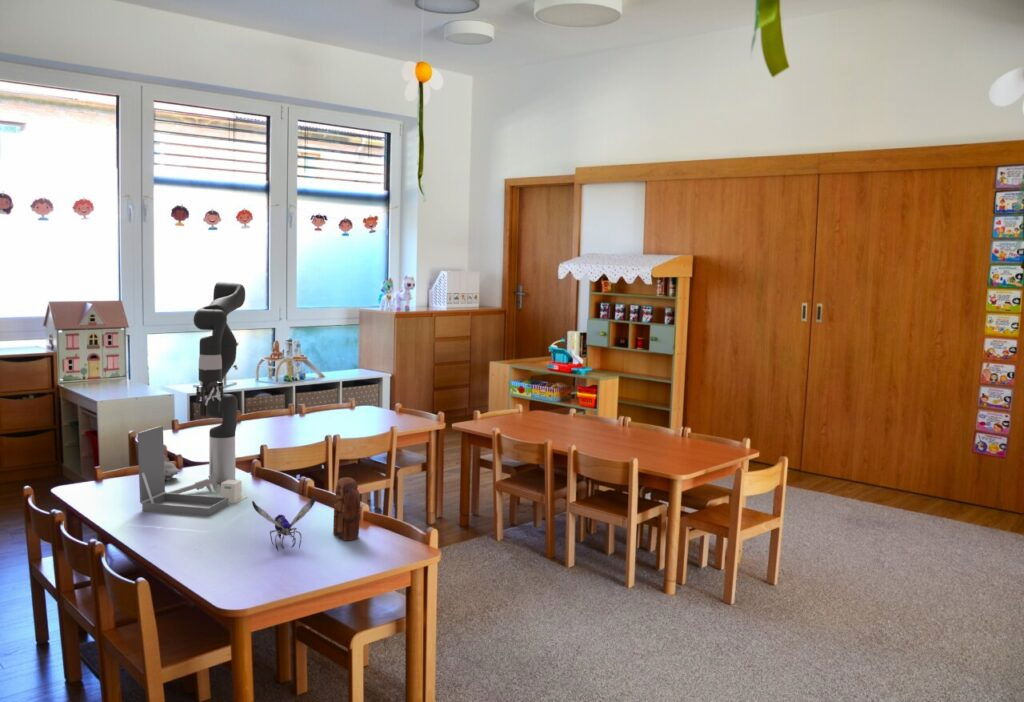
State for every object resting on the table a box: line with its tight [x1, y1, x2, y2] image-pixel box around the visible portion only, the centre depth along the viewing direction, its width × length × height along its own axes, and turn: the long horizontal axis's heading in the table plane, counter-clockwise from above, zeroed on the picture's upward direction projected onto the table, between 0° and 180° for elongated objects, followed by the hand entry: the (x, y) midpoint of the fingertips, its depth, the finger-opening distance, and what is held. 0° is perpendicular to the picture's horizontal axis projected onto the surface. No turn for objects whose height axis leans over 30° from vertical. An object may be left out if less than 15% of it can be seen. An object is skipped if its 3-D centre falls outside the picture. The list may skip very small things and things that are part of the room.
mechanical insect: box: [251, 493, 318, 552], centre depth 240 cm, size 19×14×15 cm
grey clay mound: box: [164, 454, 180, 482], centre depth 307 cm, size 12×12×11 cm
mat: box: [228, 495, 248, 504], centre depth 284 cm, size 8×8×1 cm
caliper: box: [166, 475, 218, 494], centre depth 289 cm, size 21×1×6 cm, turn 129°
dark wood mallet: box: [332, 476, 361, 541], centre depth 251 cm, size 12×6×18 cm, turn 37°
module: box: [220, 479, 242, 501], centre depth 284 cm, size 5×5×6 cm
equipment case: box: [137, 425, 229, 517], centre depth 271 cm, size 13×25×26 cm, turn 82°
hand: (210, 413), depth 283 cm, fingers open, 8 cm apart
